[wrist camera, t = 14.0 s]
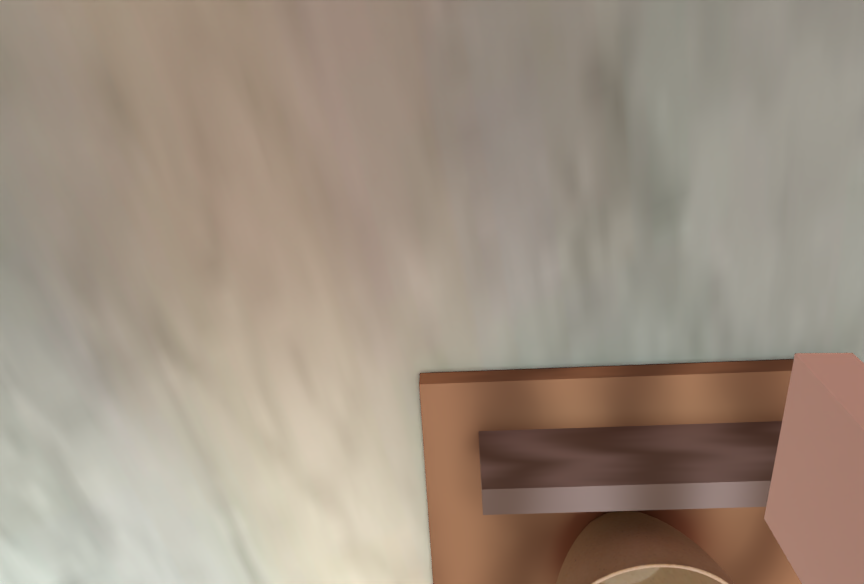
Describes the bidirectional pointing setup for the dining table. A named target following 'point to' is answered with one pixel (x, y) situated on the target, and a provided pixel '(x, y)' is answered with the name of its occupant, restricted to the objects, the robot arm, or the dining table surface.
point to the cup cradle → (600, 463)
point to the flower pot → (637, 554)
